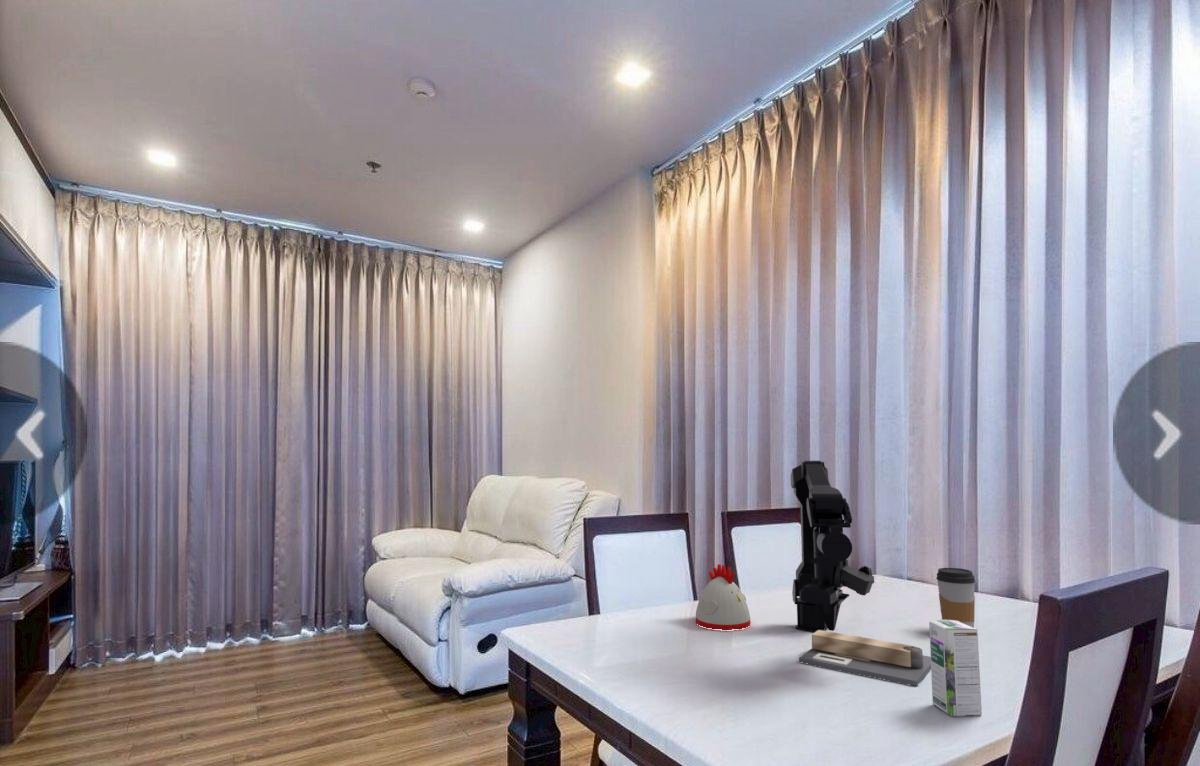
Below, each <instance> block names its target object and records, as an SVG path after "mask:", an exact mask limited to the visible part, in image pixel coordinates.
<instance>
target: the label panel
mask: <svg viewBox="0 0 1200 766" xmlns="http://www.w3.org/2000/svg"><path fill="white" fill-rule="evenodd" d="M798 662H803V663H802V664H804V663H808V664H807V665H809V664H812V665H811V666H814V665H816V666H815V667H819V666H821V667H820V668H823V667H825V668H824V669H828V668H830V669H829V670H833V669H835V670H834V671H838V670H841V671H840V672H843V671H844V673H848V672H850V674H853V673H855V674H854V675H858V674H861V675H860V676H863V675H865V676H864V677H867V676H871V677H870V678H872V677H876V678H875V679H877V678H881V679H880V680H882V679H885V680H884V681H887V680H890V681H889V682H892V681H894V683H897V682H900V683H899V684H902V683H904V684H903V685H907V684H910V685H909V686H911V685H914V686H913V687H916V686H917V687H919V685H920V684H921V683H922V681H923V680H924V679H925V677H926V676H927V675H928V674H929V673H930V672H931V656H928V655H924V654H923V667H921V668H913V667H907V666H901V665H896V664H891V663H886V662H880V661H875V660H870V659H864V658H859V657H854V656H848V655H843V654H838V653H833V652H827V651H822V650H817V649H812V648H811V649H810V650H808V651H806V652H805V653H803V654H802V655H801V656H799V657H798ZM920 682H921V683H920ZM919 683H920V684H919ZM918 684H919V685H918ZM915 685H916V686H915Z"/></svg>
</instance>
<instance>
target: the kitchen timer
mask: <svg viewBox="0 0 1200 766" xmlns="http://www.w3.org/2000/svg"><path fill="white" fill-rule="evenodd" d="M708 574H709V578H710V581H709V582H708V583H707V584H706V586H705V587H704V589H703V590H702V592H701V594H700V597H699V598H698V603H697V606H696V610H695V624H696V623H697V624H698V625H700V626H703V627H706V628H712V629H722V630H732V629H742V628H746V627H748V626H750V627H751V625H750V624H751V623H752V622H751V614H750V609H749V607H748V604H747V598H746V597H747V596H746V595H745V594H744V593H742V591H741V589H740V588H739V587H738V585H737V584H736V583H735V582H734V579H735V575H736V572H735V571H734V572H732V567H731V566H727V568H726V565H725V564H722V565H721V564H720V563H719V564H717V566H716V567H713V568H712V571H708ZM697 624H696V625H697ZM698 625H697V626H698Z"/></svg>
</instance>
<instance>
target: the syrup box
mask: <svg viewBox="0 0 1200 766" xmlns="http://www.w3.org/2000/svg"><path fill="white" fill-rule="evenodd" d="M928 625H929V649H930V651H929V652H930V657H931V670H930V674H931V675H930V676H931V677H930V678H931V692H932V693H931V696H932V700H931V701H932V705H933V706H935V705H936V707H937V708H938V709H940V710H941V711H943V712H945V714H947V715H948V716H949V717H951V716H957V717H964V716H963V715H974V716H982V715H983V712H982V709H983V708H982V707H983V706H982V694H981V688H982V687H981V674H980V673H981V672H980V671H981V670H980V654H979V653H980V652H979V633H978V628H976V627H974V628H972V627H970V626H968V625H965V624H963V623H961V622H959V621H955V620H942V619H934V620H929V624H928Z"/></svg>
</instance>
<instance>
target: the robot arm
mask: <svg viewBox="0 0 1200 766" xmlns="http://www.w3.org/2000/svg"><path fill="white" fill-rule="evenodd" d="M828 470H829V469H828V468H827V467H826V466H825V462H824V461H822V460H804V461H801V462H800V465H797V466H796V467H794V468H792V470H791V473H790V488H791V489H793V493H794V496H795V497H796V499H797V500H798V502H799V504H800V533H801V534H800V536H801V539H800V540H801V562H800V564H799V565H798V567H797V568H796V569H795V578H794V579H793V580H792V581H793V582H792V590H791V591H792V592H791V593H792V601H793V603H794V605H796V617H797V618H796V619H797V621H796V622H797V623H796V624H797V625H795V626H794V629H795V630H799V631H800V630H802V631H807V632H813V633H815V632H816V631H818V630H822V631H826V630H827V631H830V632H834V631H835V629H836V627H837V622H838V617H839V612H840V608H841V606H842V602H844V601H845V600H846V599H848V598H849V597H850V593H849V594H848V593H844V592H843V589H841V588H844V587H846V588H848V589H850V590H851V591H854V592H855V593H856V594H858V595H860V596H866V595H867V594H869V593H870V592H871V589H872V586H873V584H874V583H875V575H873V572H872V568H871V567H869V566H867V565H863V566H861V567H860V568H857V567H851V566H849V560H848V558H849V557H850V556H851V555H852V552H853V544H852V542H851V539H850V538H849V537H848V536H847V535H846V534H845V533H844V528H846V529H847V528H851V527H852V525H851V524H852V522H853V517H852V514H851V509H850V505H849V503H848V502H847V499H846V497H843V496H844V495H843V494H842V493H841V491H840V490H839V489H838V488H835V487H832V485H831V484H830V481H829V471H828Z"/></svg>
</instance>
